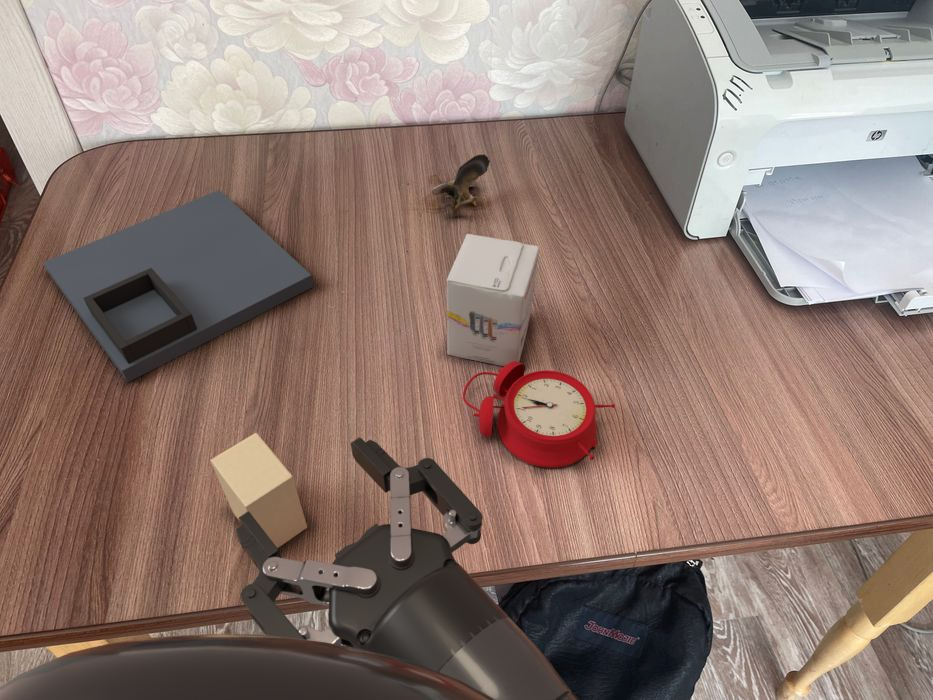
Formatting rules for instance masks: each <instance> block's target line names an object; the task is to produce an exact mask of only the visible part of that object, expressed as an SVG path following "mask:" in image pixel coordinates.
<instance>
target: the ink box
mask: <svg viewBox="0 0 933 700" xmlns="http://www.w3.org/2000/svg"><path fill="white" fill-rule="evenodd" d="M539 251H540V246H539V245H533V244H526V243H522V242H520V241H515V240H510V239H509V240H508V239H500V238H496V237H492V236H491V237H490V236H484V235H479V234H472V233H467V234H466V235H465V237H464V239H463V242H462V244H461V245H460V249H459V251H458V253H457V255H456V258H455V260H454V263H453V264H452V267H451V269H450V271H449V274H448V276H447V279H446V309H447V310H446V311H447V312H446V313H447V315H446V328H447V329H446V330H447V335H446V336H447V341H446V342H447V343H446V345H447V347H446V350H447V355H448V356H452V357H457V358H460V359H464V360H465V359H466V360H471V361H476V362H479V363H480V362H481V363H486V364H490V365H495V366H501V367H504V366H505V365H506V364H508V363H510V362H513V361H518V362H520V360H521V356H522V353H523V349H524V345H525V341H526V338H527V333H528V330H529V327H530V322H531V317H532V309H533V302H534V301H533V300H534V293H535V283H536V276H537V269H538V268H537V267H538V260H539Z"/></svg>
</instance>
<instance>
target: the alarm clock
mask: <svg viewBox="0 0 933 700" xmlns="http://www.w3.org/2000/svg"><path fill="white" fill-rule="evenodd" d="M497 372H498V373H496V372H491V371H482V372H478V373H476V374H475V375H473V376H472V377H471V378H470V379H469V380H468V382H467V383H466V384H465V386H464V389H463V392H462V401H463V402H464V403H465V404H466V405H467V407H468V408H471V409H473V410H474V411H476V412H477V413H473V415H472V416H473V417H476V418H477V417H478V428H479V431H480V434H481V435H482V436H483V437H485V438H491V439H492V433H493V432H492V431H493V420H494V419H493V418H494V409H499V410H498V413H497V421H496V424H497V425H496V426H497V432H498V435H499V438H500V440H501V442H502V444H503V445H504V447H505V448H506V449H507V450H508V451H509V452H510V453H511V455H513V456H515V457H516V458H517V459H519V460H521V461H523V462H525V463H527V464H530V465H531V466H532V465H533V466H536V467H541V468H552V469H553V468H560V467H566V466H569V465H572V464H574V463H576V462H578V461H581V460H582V458H584V457H585V456H586V455H587V456H588V457H589V460H591V461H593V460H594V459H595V456H594V454H593V455H592V454H591V453H590V450H591V449H592V448H594V449H596V448H597V445H598V442H599V440H597V439H596V437H597V426H598V425H597V420H596V409H597V408H598V409H599V408H600V409H601V408H612V409H615V408H616V404H615V403H611V404H595V400H594V398H593V396H592V394H591V392H590V390H589V389H588V387H586V385H585V384H584V383H582V382H581V381H580V380H579V379H577V378H575V376H572V375H569V374H568V373H564V372H561V371H558V370H557V371H556V370H548V369H547V370H546V369H545V370H544V369H543V370H542V369H541V370H536V371H532V372H529V373H526V374H525V372H526V366H525V364H523V363H522V362H520V361H519V362H518V361H513V362H510V363H508V364H506V365H505V366H502V367H501V368H499V369H498V370H497ZM484 375H489V376H495V379H494V382H493V388H494V392H495V393H493V395H488V396H485V397H484V398H483V399H482V401H481V403H480V407H479V408H477V407H476V406H474V405H472V404H470V403H469V402H468V400H467V399H466V393H467V390H468V387H469V386H470V384H471V383H472V382H473V381H474V379H476V378H477V377H479V376H484ZM497 395H498V396H497ZM495 399H498V400H501V401H503V402H502V404H501V405H495V404H494V403H495Z"/></svg>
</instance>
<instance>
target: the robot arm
mask: <svg viewBox="0 0 933 700" xmlns="http://www.w3.org/2000/svg"><path fill="white" fill-rule="evenodd" d="M350 448H351V455H352V457H353V459H354V460H355V462H356V463H357V464H358V465H359V466H360V467H361V468H362V470H363V471H364V472H365V473H366V474H367V476H369V477H370V478H371V479H372V480H373V481H374V483H375V484H376V485H377V486H378V487H379V488H380V489H381V490H382V491H383V492H384V493H385V494H386V493H388V492H389V493H390V497H389V511H390V512H389V513H390V514H389V515H390V516H389V517H390V523H385V524H380V525H379V524H377V523H375V524H374V525H372V526H371V527H369V528H368V529H367V530H366V531H365V532H364V533H363V534H362V536H361V537H360V538H359V540H357V541H355V542H353V543H351V544H348V545H346V546H343V548H342V549H340V550H339V551H337V552H336V553H335V554H334V558H335V559H333V561H332V563H328V562H324V561H319V560H314V559H306V560H304V561H299V560H294V559H289V558H285V557H282V555H281V552H280V550H279V548H277V547H276V546H275V544H274V543H273V542H272V541H271V539H270V538H269V537H268V535H267V534H266V533H265V531H264V530H263V529H262V528H261V526H260V525H259V524H258V522H257V521H256V520H255V519H254V517H253V516H252V515H251V513H250V512H249V511H248V512H246V513H245V514H243V515H242V516H240V517H239V520H238V521H239V523H240V526H239V527H238V528H236V529H235V532H236V538H237V540H238V542H239V544H240V546H241V548H242V549H243V551H244V553H245V554H246V555H247V556H248V557H249V559H250V560H251V562H252V563H253V564H254V565H255V567H256V568H257V570H258V574H257V576H256V578H255V579H254V581H253V582H252V583H249V584H247V585H246V586H244V587H243V589H242V590H241V592H240V599H241V601H242V603H243V605H244V606H245V607H246V610H247V612H248V615H249V617H250V618H251V620H252V621H253V622H254V623H255V624H256V626H258V628H259V629H260V630H261V631H262V633H263V634H246V633H245V634H243V633H240V634H239V633H199V634H184V635H181V634H180V635H171V636H169V635H168V636H157V637H144V638H134V639H128V640H121V641H114V642H110V643H106V644H102V645H97V646H93V647H88V648H84V649H80V650H79V649H78V650H76V651H71V652H69V653H68V652H67V653H65V654H63V655H61V656H59V657H56V658H54V659H52V660H49V661H47V662H44V663H41V664H39V665H37V666H35V667H33V668H30V669H29V670H26V671H23V672H22V673H19V674H18V675H16V676H15V677H14V678H12V679H11V680H9V681H8V682H6V683H5V684H3V685H2V686H0V700H581V699H580V698H579V697H578V696H577V695H576V694H575V693H574V691H572V689H571V688H570V686H568V685H567V683H566V681H564V679H563V678H562V677H561V676H560V674H559V673H558V672H557V670H556V668H555V667H554V666H553V664H552V663H551V661H549V659H548V658H547V656H546V655H545V654H544V653H543V651H541V649H540V648H539V647H538V645H536V644H535V642H533V641H532V639H531V638H530V637H529V636H528V635H527V634H526V633H525V632H524V631H523V630H522V629H521V628H520V627H519V626H518V624H517V623H516V622H515V621H514V620H513V619H512V618H511V617H510V616H509V615H508V614H507V613H506V611H504V610H503V608H501V606H500V605H498V603H497V602H496V601H495V600H494V599H493V598H492V597H491V596H490V595H489V594H488V592H487V591H486V590H484V589H483V587H481V585H480V584H479V583H478V582H477V581H476V580H475V579H474V578H473V577H472V576H471V575H470V573H469V572H468V571H467V570H466V569H464V567H463V566H462V565H461V564H460V563H459V562H457V560H456V558H455V557H454V555H453V553H455V551H457V550H459V548H461V547H462V546H463V545H465V544H469V545H475V544H477V543H479V542H480V540H481V539H482V531H483V530H482V528H483V514H482V512H481V511H480V510H479V509H478V508H477V506H476V505H475V503H473V502H472V501H471V499H470V498H469V497H468V496H467V495H466V494H465V493H464V491H462V490H461V488H460V487H459V486H458V485H457V484H456V482H454V481H453V480H452V478H451V477H450V476H449V475H448V474H447V473H446V472H445V471H444V469H442V467H441V466H440V465H439V464H438V463H437V462H436V461H435V460H434V459H433V458H431V457H423V458H422V459H421V460H419V462H418V464H415V465H413V466H410V467H409V466H408V467H405V466H401V465H399V464H398V463H397V462H396V461H395V460H394V459H393V457H392V456H391V455H390V454H389V453H387V452H386V450H385V449H383V448H382V446H381V445H380V444H379V443H378V442H377V441H374V440H372V439H368V440H366V441H365V440H364V439H363V438H362V437H357V438H355V439H354V440H353V441H351V442H350ZM421 492H422V493H423V494H424V495H425V497H426V498H427V499H428V500H429V501H430V502H431V504H432V505H433V506H434V507H435V509H436V510H437V511H438V512H439V513H440V514H441V515H442V521H443V522H442V528H443V530H444V534H440V533H437V532H432V531H428V530H423V529H419V528H413V526H412V525H413V523H412V505H411V504H412V502H411V501H412V499H411V496H413V495H415V494H418V493H421ZM280 595H284V596H289V597H294V598H298V599H302V600H304V601H305V602H307V603H310V604H314V605H318V606H324V607H328V619H327V621H328V627H327V628H325V629H321V630H320V629H319V630H318V629H316V628H314V627H313V626H312V625H310V624H306V625H305V624H304V625H302V626H300V627H299V628H296V626H294V624H293V623H292V622H291V621H290V619H289V618H288V617H287V616H286V615H285V614H284V612H283V611H282V610H281V609H280V608H279V606H278V605H277V604H276V603H275V601H276V600H277V599H278V597H279V596H280Z"/></svg>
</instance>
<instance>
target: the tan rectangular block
mask: <svg viewBox="0 0 933 700" xmlns="http://www.w3.org/2000/svg"><path fill="white" fill-rule="evenodd" d="M210 464H211V465H212V468H213V470H214V472H215V474H216V477H217V479H218V481H219V484H220V486H221V488H222V491H223V493H224V495H225V498H226V500H227V502H228V505H229V507H230V510H231V511H232V513H233V515H234V516H235V517H236V519H237V520H238V521H239V517H240V516H242V515H243V514H245V513H246V512H248V511H249V512H250V513H251V515H252V516H253V517H254V519H255V520H256V521H257V522H258V524H259V525H260V526H261V528H262V529H263V530H264V531H265V533H266V534H267V535H268V537H269V538H270V539H271V541H272V542H273V543H274V544H275V546H276V547H277V548H278V549H279V548H281V546H283V545H284V544H286V543H287V542H289V541H290V540H292V539H293V538H295V537H296V536H297V535H299V534H300V533H302V532H303V531H305V530H306V529H307V528H308V525H307V521H306V518H305V515H304V511H303V507H302V504H301V501H300V497H299V493H298V490H297V486H296V483H295V480H294V476H293V475H292V474H291V472H290V471H289V470H288V469H287V467H286V466H285V465H284V463H282V462H281V460H280V459H279V458H278V456H276V454H275V453H274V451H272V449H271V448H270V447H269V446H268V445H267V443H266V442H265V441H264V440H263V439H262V438H261V436H260V435H259V434H258V432H255V433H253V434H251V435H249V436H248V437H246V438H244V439H243V440H241V441H239V442H238V443H236V444H234V445H232V446H231V447H230V448H228V449H226V450H224V451H223V452H221V453H220V454H217V455H216V456H214V457H213V458H211V459H210Z"/></svg>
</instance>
